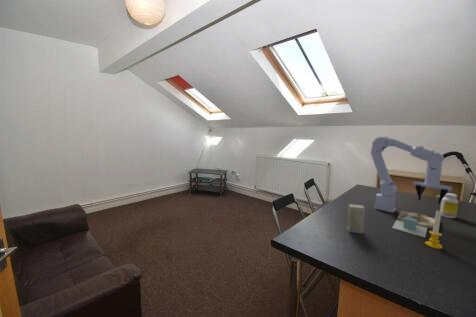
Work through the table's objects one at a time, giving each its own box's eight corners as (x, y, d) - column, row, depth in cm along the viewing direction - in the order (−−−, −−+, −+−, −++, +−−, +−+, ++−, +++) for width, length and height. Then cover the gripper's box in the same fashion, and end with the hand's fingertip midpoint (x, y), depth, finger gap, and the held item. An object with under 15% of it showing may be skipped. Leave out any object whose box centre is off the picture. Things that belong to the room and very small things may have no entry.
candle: (424, 240, 89) (429, 206, 87) (441, 245, 86) (447, 209, 83) (425, 245, 85) (430, 209, 83) (443, 250, 82) (449, 213, 79)
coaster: (392, 228, 100) (392, 227, 100) (396, 221, 108) (396, 220, 108) (425, 237, 91) (425, 236, 91) (427, 229, 100) (427, 227, 99)
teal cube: (404, 224, 103) (405, 216, 102) (416, 227, 100) (417, 219, 99) (403, 227, 100) (404, 218, 99) (415, 230, 96) (416, 221, 96)
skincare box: (361, 229, 98) (363, 205, 96) (363, 234, 94) (366, 208, 92) (346, 227, 100) (348, 203, 98) (347, 231, 96) (350, 206, 94)
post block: (396, 220, 109) (398, 211, 109) (401, 212, 119) (402, 205, 119) (438, 230, 98) (440, 221, 98) (439, 221, 108) (440, 213, 107)
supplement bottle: (459, 219, 112) (463, 196, 110) (445, 218, 113) (448, 195, 111) (449, 214, 118) (453, 192, 116) (436, 213, 119) (439, 191, 118)
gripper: (413, 175, 109) (410, 199, 111) (453, 179, 99) (448, 206, 101) (415, 173, 114) (412, 196, 116) (452, 177, 104) (448, 203, 106)
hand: (429, 201), depth 109 cm, fingers open, 7 cm apart
